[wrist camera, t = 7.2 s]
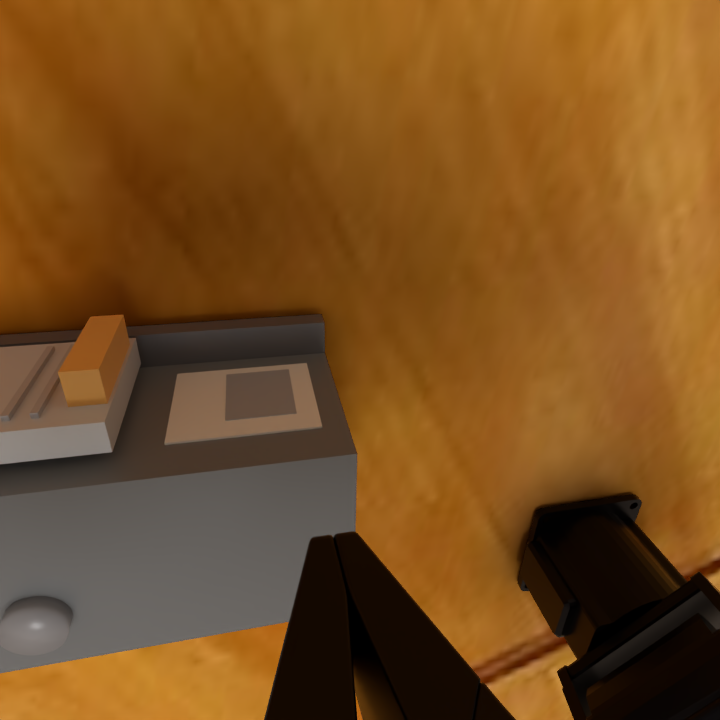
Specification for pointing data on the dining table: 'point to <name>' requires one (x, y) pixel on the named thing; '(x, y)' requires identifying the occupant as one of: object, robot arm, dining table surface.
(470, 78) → the dining table surface
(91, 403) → the side door
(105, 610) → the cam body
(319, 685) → the robot arm
